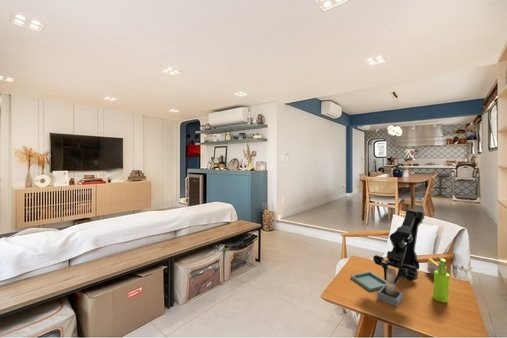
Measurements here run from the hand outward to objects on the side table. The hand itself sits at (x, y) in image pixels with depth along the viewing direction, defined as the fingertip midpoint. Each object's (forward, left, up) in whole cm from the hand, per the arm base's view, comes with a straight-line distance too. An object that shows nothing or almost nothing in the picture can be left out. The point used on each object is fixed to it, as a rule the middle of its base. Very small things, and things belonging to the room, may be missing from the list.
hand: (389, 281), depth 114 cm
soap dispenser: (-26, +6, -10) cm, 29 cm away
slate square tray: (-1, -1, -10) cm, 10 cm away
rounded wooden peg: (-1, -1, -6) cm, 6 cm away
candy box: (-45, -8, -10) cm, 47 cm away
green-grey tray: (-4, -16, -10) cm, 19 cm away
